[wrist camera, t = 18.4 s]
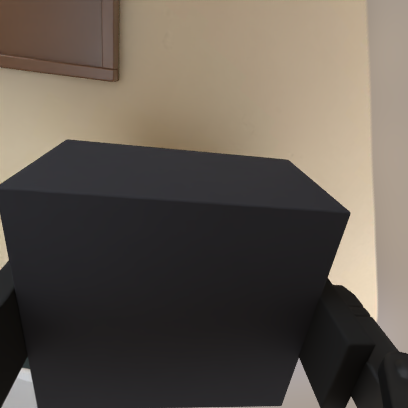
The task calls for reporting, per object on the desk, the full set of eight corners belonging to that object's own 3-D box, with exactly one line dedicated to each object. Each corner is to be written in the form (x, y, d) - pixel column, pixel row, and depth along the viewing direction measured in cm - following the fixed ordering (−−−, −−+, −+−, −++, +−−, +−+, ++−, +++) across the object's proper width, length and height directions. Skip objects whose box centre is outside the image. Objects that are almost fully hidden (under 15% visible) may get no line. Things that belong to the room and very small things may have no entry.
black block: (288, 159, 13) (351, 212, 8) (252, 310, 16) (281, 406, 12) (66, 138, 11) (-7, 186, 7) (79, 306, 15) (37, 411, 10)
